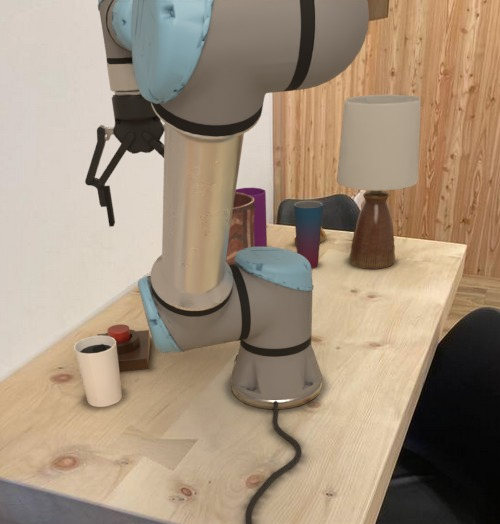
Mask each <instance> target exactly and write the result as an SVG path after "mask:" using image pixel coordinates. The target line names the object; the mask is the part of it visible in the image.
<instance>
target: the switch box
mask: <svg viewBox="0 0 500 524" xmlns="http://www.w3.org/2000/svg"><path fill="white" fill-rule="evenodd" d="M100 335H102V336H108V331H107V332H105V333H97V335H96V336H100ZM130 335H131V339H129V340H127V341H124V342H118V343H116V346H117V355H118V363H119V372H124V371H125V372H127V371H137V370H140V371H141V370H149V363H150V352H151V351H150V350H151V333H150V329H146V330H134V329H130Z"/></svg>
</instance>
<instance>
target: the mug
mask: <svg viewBox="0 0 500 524" xmlns="http://www.w3.org/2000/svg"><path fill="white" fill-rule="evenodd" d="M236 192H237V193H243V194H247V195H250V196H252V197H253V198H255V211H254V246H255V247H268V245H267V243H268V239H267V238H268V232H267V196H266V192H267V191H266V190H265V189H263V188H260V187H241V188H236Z"/></svg>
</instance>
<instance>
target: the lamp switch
mask: <svg viewBox="0 0 500 524" xmlns="http://www.w3.org/2000/svg"><path fill="white" fill-rule="evenodd" d="M130 330H131V329H130V326H129V325H127V324H124V323H123V324H122V323H120V324H114V325H111V326H109V327H108V328H107V332H108V336H109V337H112V338H114V339H115V341H116V343H118V342H124V341H127V340H129V339H131V335H130Z"/></svg>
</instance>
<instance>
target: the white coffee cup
mask: <svg viewBox="0 0 500 524" xmlns="http://www.w3.org/2000/svg"><path fill="white" fill-rule="evenodd" d="M73 350H74V354H75V358H76V361H77V366H78V370H79V373H80V377H81V381H82V385H83V390H84V393H85V397H86V402H87V403H88V405H90V406H92V407H97V408H105V407H110V406H113V405H115V404H117V403H119V402H120V401H121V400H122V398H123V391H122V382H121V373H120V372H121V371H119V363H118V355H117V346H116V341H115V339H114V338H112V337H109V336H102V335H100V336H97V335H92V336H87V337H84V338H82V339H80V340H78V341H77V342H76V343H75V344H74V346H73Z"/></svg>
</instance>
